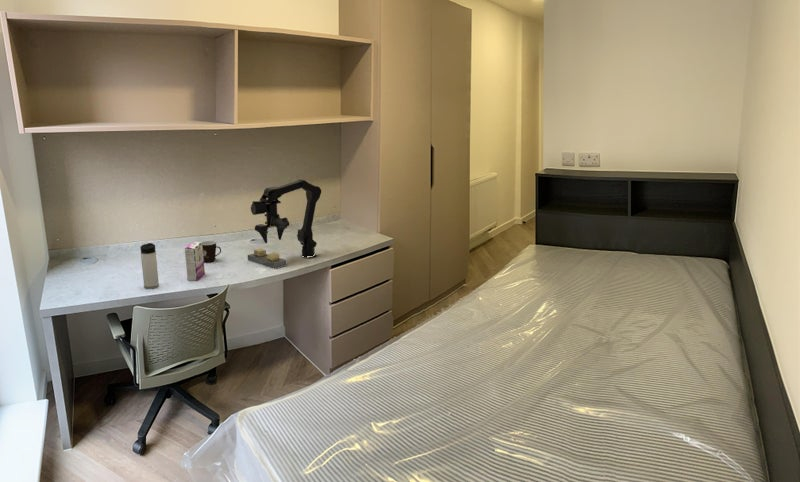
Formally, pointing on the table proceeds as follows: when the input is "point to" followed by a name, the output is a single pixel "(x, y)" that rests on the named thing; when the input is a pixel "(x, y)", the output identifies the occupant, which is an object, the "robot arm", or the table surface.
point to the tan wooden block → (272, 257)
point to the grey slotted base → (266, 261)
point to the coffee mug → (209, 251)
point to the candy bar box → (194, 261)
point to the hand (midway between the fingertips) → (273, 241)
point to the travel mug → (149, 266)
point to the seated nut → (259, 252)
